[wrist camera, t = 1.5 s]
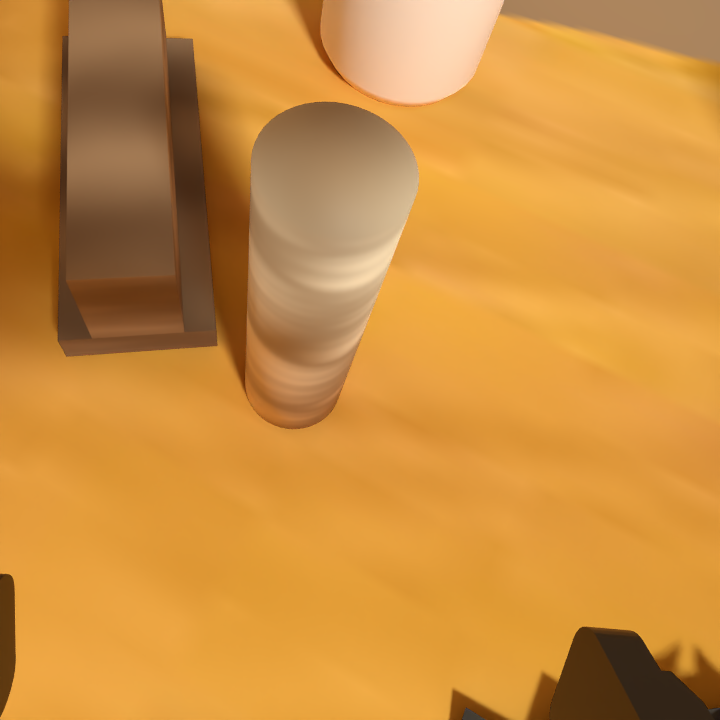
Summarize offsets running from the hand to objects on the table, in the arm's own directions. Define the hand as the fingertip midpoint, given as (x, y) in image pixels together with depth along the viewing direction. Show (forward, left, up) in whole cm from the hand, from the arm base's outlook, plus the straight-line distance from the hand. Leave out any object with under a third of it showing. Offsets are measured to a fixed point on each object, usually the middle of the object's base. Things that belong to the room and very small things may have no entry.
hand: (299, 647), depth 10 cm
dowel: (-2, -10, -16) cm, 19 cm away
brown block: (+4, -20, -16) cm, 26 cm away
